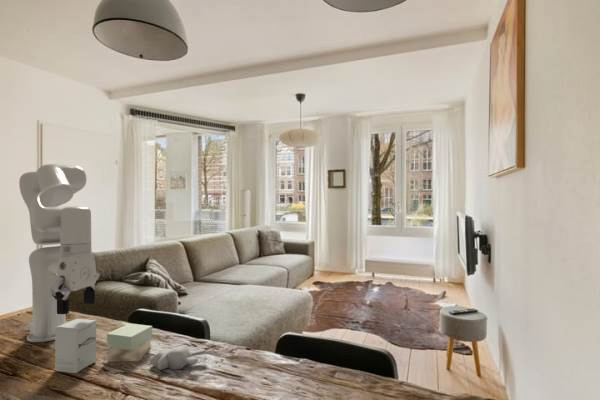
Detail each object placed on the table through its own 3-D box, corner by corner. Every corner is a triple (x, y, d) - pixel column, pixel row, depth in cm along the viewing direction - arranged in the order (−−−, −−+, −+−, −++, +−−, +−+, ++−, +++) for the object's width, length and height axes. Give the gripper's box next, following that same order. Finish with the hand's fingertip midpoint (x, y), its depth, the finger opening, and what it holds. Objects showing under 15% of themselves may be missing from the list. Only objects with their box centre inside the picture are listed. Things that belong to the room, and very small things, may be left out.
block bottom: (108, 362, 101) (108, 349, 101) (122, 349, 110) (122, 337, 110) (138, 362, 101) (138, 348, 101) (150, 348, 110) (150, 336, 110)
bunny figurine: (161, 343, 104) (207, 340, 102) (163, 360, 104) (209, 357, 102) (143, 358, 94) (193, 355, 92) (145, 376, 94) (195, 373, 92)
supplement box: (76, 374, 93) (76, 328, 93) (54, 371, 95) (54, 326, 95) (97, 361, 101) (97, 319, 101) (76, 359, 102) (76, 317, 102)
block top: (106, 346, 102) (106, 333, 102) (129, 335, 111) (129, 323, 111) (131, 350, 100) (131, 336, 100) (152, 338, 109) (152, 326, 109)
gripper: (63, 253, 89) (64, 318, 88) (108, 245, 106) (109, 300, 106) (38, 253, 89) (38, 318, 89) (86, 245, 107) (87, 299, 106)
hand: (76, 308), depth 97 cm, fingers open, 9 cm apart
